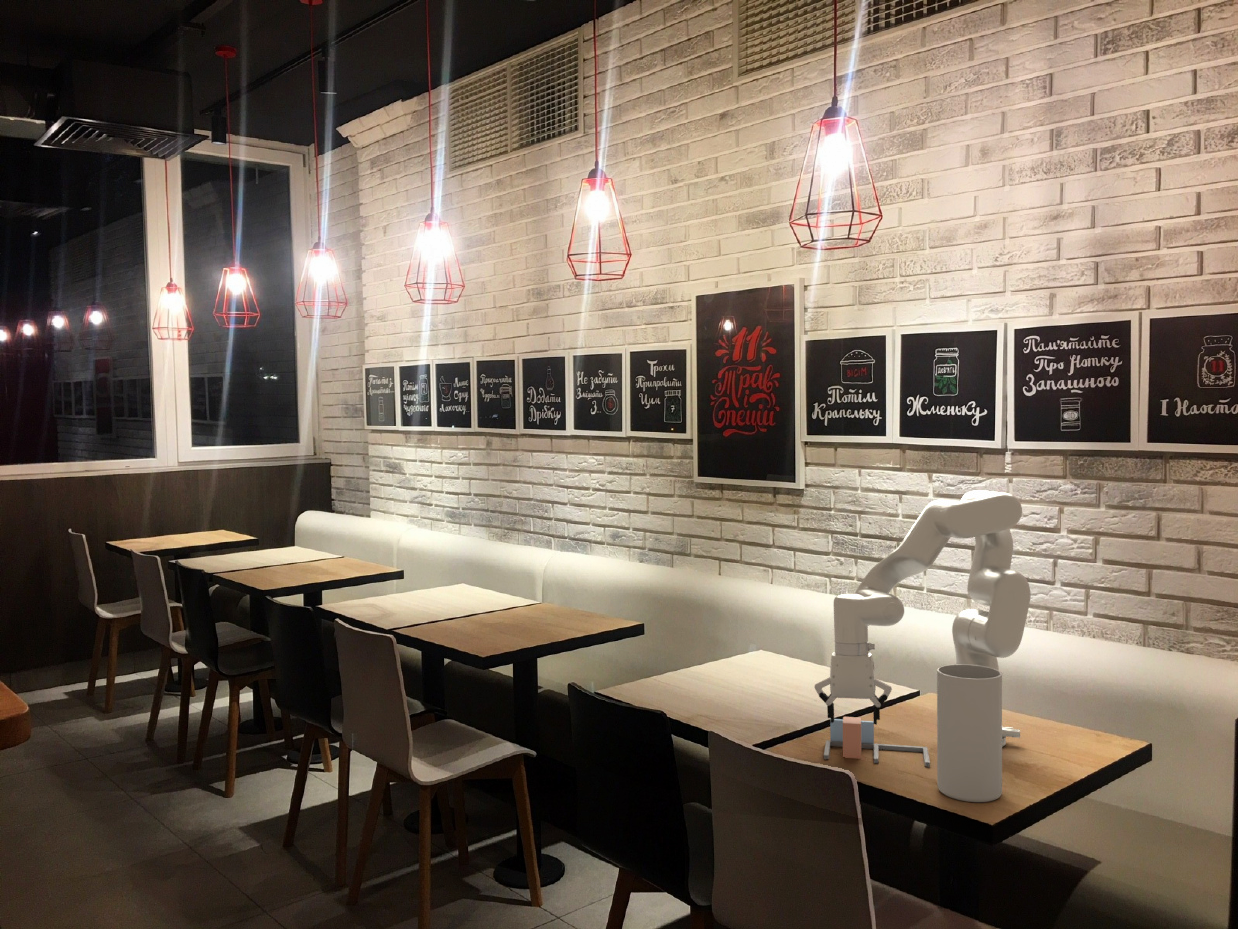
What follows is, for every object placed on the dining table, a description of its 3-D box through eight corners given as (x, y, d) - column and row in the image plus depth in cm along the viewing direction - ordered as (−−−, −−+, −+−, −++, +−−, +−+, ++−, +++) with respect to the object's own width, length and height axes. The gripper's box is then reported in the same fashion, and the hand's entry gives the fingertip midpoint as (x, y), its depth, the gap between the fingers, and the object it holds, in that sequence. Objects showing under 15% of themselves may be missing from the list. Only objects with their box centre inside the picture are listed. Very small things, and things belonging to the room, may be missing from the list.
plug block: (861, 751, 225) (861, 717, 225) (860, 758, 221) (860, 724, 220) (843, 750, 226) (843, 716, 226) (842, 757, 222) (842, 722, 221)
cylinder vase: (1012, 791, 199) (1012, 670, 198) (986, 808, 190) (985, 682, 190) (954, 777, 208) (953, 661, 207) (926, 793, 199) (926, 672, 198)
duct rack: (927, 750, 226) (926, 724, 226) (929, 767, 214) (929, 740, 214) (826, 743, 232) (826, 718, 231) (823, 759, 220) (823, 733, 220)
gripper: (890, 645, 224) (892, 718, 225) (814, 644, 229) (816, 715, 229) (890, 653, 217) (893, 728, 218) (812, 651, 221) (814, 725, 222)
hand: (853, 722), depth 223 cm, fingers open, 9 cm apart
